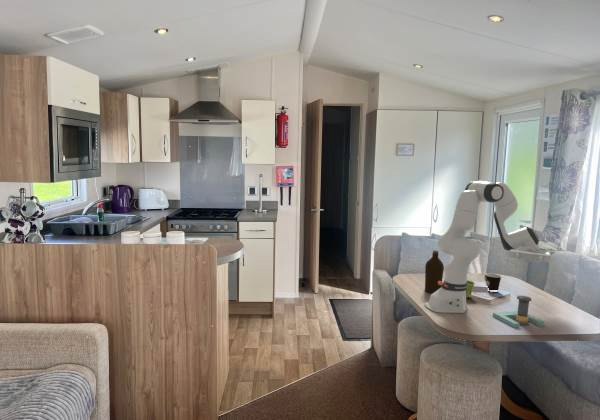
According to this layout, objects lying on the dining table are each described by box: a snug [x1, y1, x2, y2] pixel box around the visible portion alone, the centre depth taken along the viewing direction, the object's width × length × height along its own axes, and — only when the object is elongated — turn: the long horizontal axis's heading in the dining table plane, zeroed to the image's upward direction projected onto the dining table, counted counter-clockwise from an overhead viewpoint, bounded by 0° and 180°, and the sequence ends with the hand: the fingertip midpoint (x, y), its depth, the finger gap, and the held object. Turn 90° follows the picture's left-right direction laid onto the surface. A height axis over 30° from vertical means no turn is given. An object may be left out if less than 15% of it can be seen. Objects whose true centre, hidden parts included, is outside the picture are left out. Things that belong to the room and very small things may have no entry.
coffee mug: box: [484, 273, 502, 291], centre depth 282 cm, size 12×9×10 cm
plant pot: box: [466, 280, 476, 299], centre depth 268 cm, size 9×9×9 cm
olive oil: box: [424, 249, 445, 294], centre depth 275 cm, size 11×11×25 cm
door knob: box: [514, 295, 532, 326], centre depth 227 cm, size 6×6×13 cm
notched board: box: [492, 310, 545, 329], centre depth 231 cm, size 17×16×2 cm
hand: (528, 258), depth 238 cm, fingers open, 8 cm apart
